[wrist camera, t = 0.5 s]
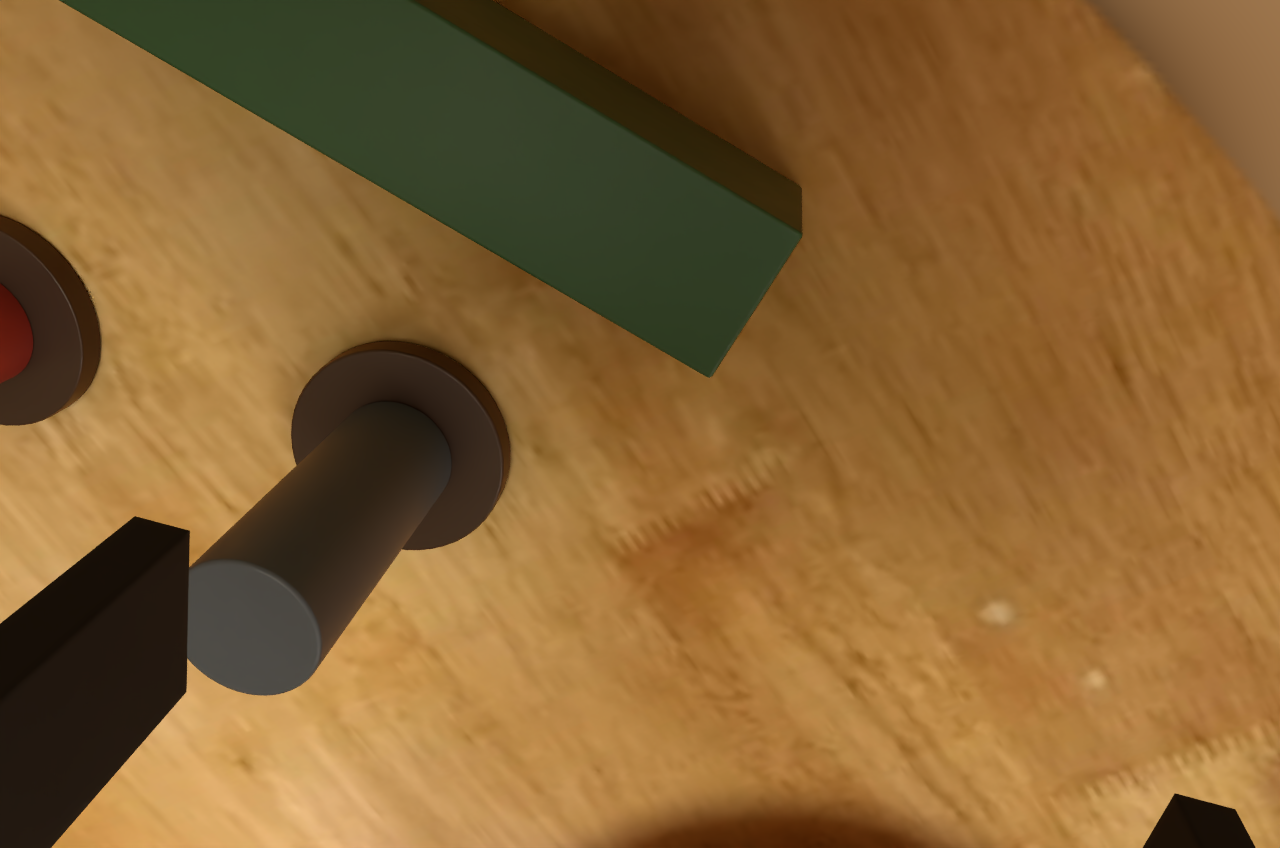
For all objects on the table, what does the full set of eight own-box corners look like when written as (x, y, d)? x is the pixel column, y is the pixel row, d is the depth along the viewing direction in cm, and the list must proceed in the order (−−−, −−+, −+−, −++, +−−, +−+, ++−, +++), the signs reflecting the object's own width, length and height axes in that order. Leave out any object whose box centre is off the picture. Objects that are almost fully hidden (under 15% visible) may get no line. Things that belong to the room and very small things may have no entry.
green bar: (190, -183, 22) (35, -227, 18) (803, 187, 24) (804, 234, 19) (147, -32, 24) (-7, -37, 19) (726, 309, 25) (710, 380, 20)
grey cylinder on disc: (317, 312, 27) (103, 454, 18) (531, 378, 26) (412, 551, 18) (291, 501, 29) (94, 700, 21) (487, 562, 29) (365, 787, 21)
